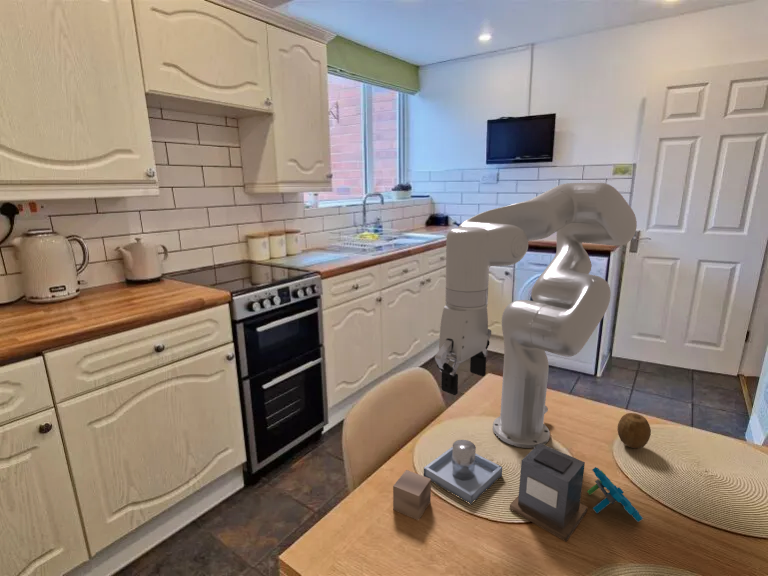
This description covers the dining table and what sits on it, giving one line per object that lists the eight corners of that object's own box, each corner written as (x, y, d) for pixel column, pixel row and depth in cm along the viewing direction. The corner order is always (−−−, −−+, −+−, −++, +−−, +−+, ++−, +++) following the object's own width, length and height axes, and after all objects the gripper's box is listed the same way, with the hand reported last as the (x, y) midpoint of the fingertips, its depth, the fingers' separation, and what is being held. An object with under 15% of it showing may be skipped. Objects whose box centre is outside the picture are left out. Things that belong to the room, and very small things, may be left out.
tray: (456, 451, 90) (456, 443, 90) (501, 475, 83) (502, 466, 82) (423, 476, 83) (423, 467, 82) (470, 505, 75) (471, 495, 75)
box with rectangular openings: (532, 484, 80) (537, 436, 78) (586, 511, 74) (593, 460, 71) (509, 509, 74) (513, 458, 72) (566, 541, 67) (572, 487, 65)
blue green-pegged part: (657, 529, 68) (613, 485, 68) (628, 551, 68) (585, 507, 68) (625, 490, 78) (588, 452, 79) (600, 509, 79) (564, 471, 79)
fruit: (652, 448, 91) (658, 415, 89) (640, 459, 88) (645, 425, 86) (623, 435, 96) (627, 403, 94) (610, 445, 92) (614, 412, 90)
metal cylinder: (460, 462, 86) (461, 436, 84) (478, 472, 83) (480, 446, 81) (447, 472, 83) (448, 446, 81) (465, 483, 80) (466, 457, 78)
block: (406, 492, 79) (406, 469, 77) (430, 502, 76) (431, 478, 75) (393, 509, 74) (393, 485, 73) (418, 520, 72) (418, 496, 71)
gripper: (473, 284, 84) (471, 362, 88) (420, 303, 72) (420, 393, 76) (508, 290, 79) (504, 373, 83) (457, 312, 67) (455, 407, 71)
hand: (464, 382), depth 80 cm, fingers open, 9 cm apart
